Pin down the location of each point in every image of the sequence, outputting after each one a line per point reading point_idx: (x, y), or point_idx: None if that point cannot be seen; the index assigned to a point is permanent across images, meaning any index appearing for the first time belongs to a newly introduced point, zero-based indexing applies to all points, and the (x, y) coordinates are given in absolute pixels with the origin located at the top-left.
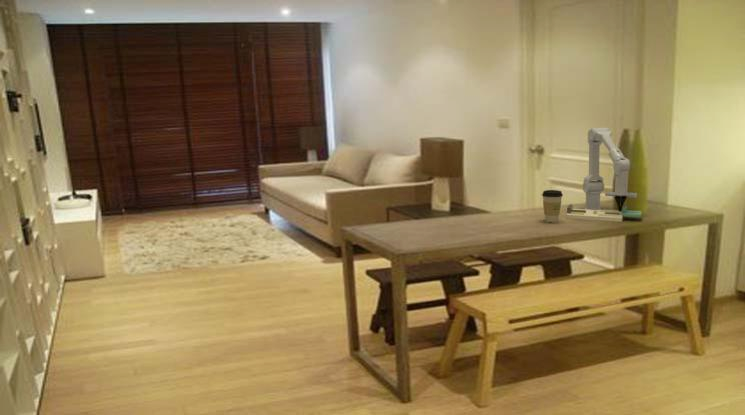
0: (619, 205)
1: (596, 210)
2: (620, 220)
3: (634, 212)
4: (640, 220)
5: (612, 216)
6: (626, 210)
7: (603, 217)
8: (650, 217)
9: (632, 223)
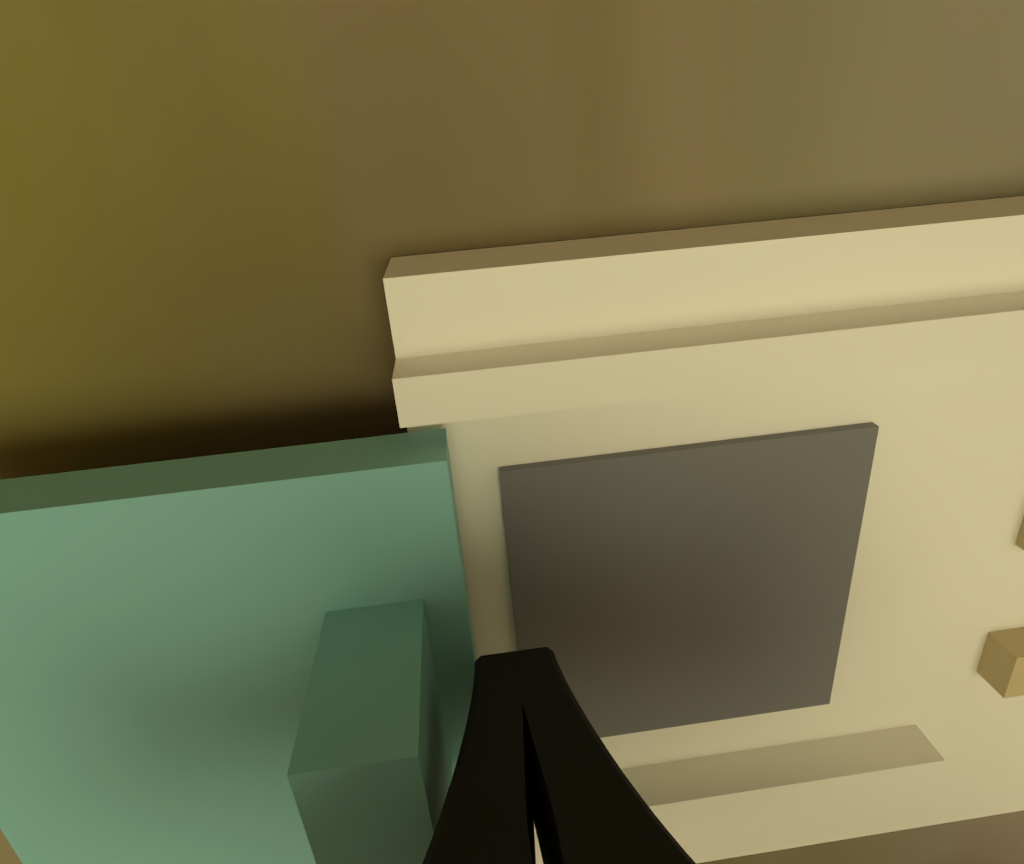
0: (565, 794)
1: (967, 793)
2: (428, 258)
3: (148, 744)
4: None
5: (666, 334)
6: (312, 667)
7: (892, 226)
8: (4, 855)
9: (81, 160)
